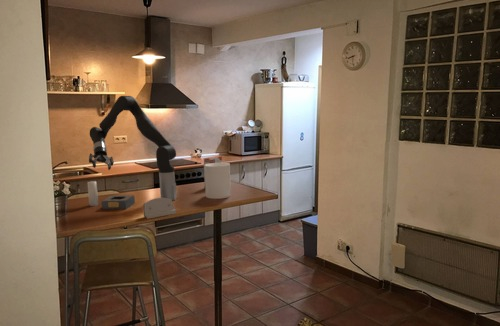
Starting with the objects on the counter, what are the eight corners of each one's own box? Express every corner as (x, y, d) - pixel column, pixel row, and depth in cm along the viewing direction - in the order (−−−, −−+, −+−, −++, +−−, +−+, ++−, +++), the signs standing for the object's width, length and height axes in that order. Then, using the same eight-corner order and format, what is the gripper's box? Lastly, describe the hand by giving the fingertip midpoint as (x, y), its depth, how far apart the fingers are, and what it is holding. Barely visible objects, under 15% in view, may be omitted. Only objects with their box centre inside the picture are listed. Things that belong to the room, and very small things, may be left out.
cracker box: (211, 188, 279) (209, 158, 276) (204, 187, 283) (202, 158, 280) (223, 184, 291) (222, 155, 288) (216, 184, 294) (215, 155, 291)
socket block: (134, 203, 243) (134, 195, 242) (125, 209, 228) (125, 200, 228) (112, 203, 244) (111, 195, 243) (101, 209, 230) (101, 201, 229)
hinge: (146, 218, 207) (143, 199, 209) (143, 220, 211) (140, 201, 213) (177, 213, 216) (173, 195, 218) (173, 214, 220) (170, 196, 222)
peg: (99, 204, 244) (97, 181, 242) (96, 206, 239) (94, 182, 237) (91, 204, 244) (89, 181, 242) (87, 206, 239) (85, 182, 237)
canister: (203, 194, 261) (201, 163, 258) (227, 192, 265) (226, 161, 263) (208, 199, 246) (207, 167, 243) (234, 197, 250) (232, 165, 248)
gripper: (89, 144, 250) (91, 161, 239) (113, 147, 258) (115, 165, 247) (86, 152, 254) (88, 170, 243) (109, 156, 262) (112, 173, 251)
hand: (102, 168), depth 245 cm, fingers open, 8 cm apart
